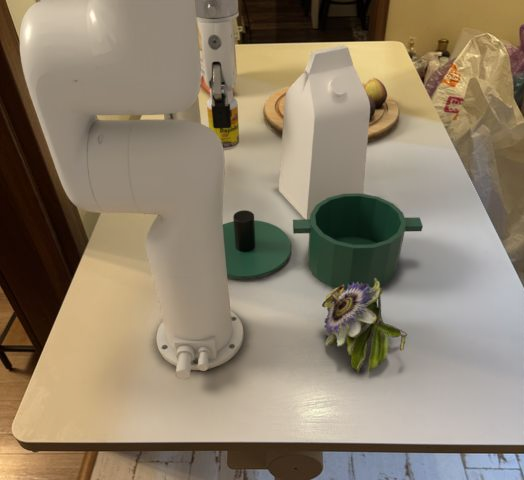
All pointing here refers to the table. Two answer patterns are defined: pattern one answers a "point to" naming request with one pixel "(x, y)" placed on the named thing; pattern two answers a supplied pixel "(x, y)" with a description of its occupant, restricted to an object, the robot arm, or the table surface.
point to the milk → (324, 131)
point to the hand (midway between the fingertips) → (223, 118)
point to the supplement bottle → (231, 135)
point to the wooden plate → (381, 109)
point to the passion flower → (359, 323)
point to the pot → (355, 239)
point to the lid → (253, 246)
